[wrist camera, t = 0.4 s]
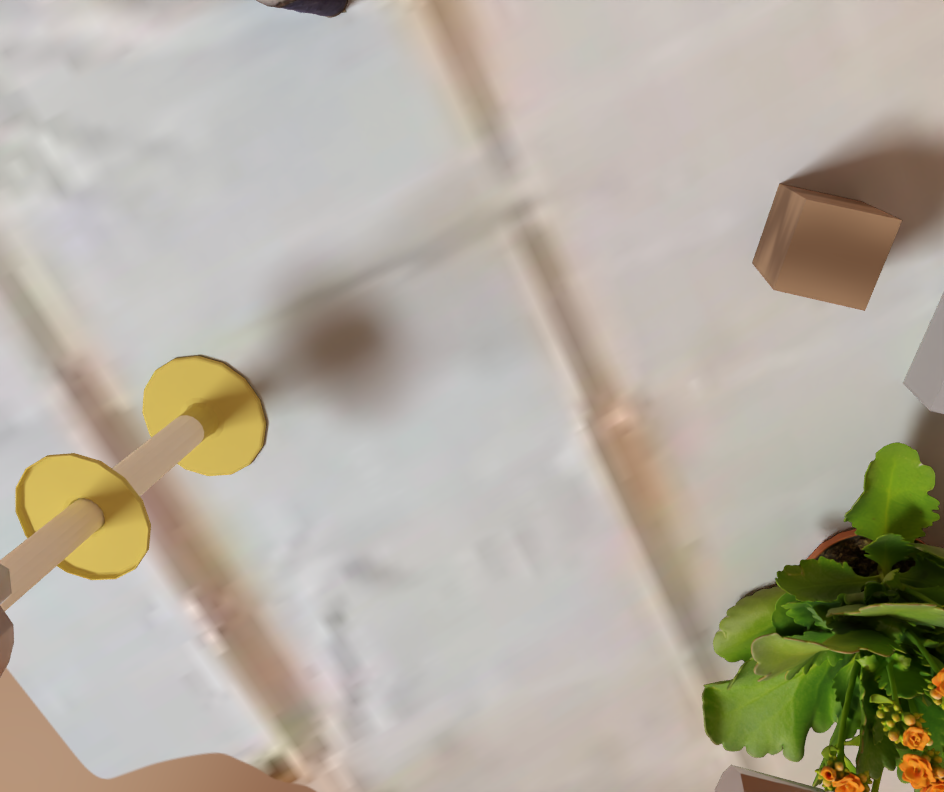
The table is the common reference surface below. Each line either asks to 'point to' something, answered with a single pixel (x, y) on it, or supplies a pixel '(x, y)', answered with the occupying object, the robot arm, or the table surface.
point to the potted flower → (847, 644)
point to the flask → (310, 6)
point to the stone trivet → (930, 365)
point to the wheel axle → (132, 476)
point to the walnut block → (824, 246)
